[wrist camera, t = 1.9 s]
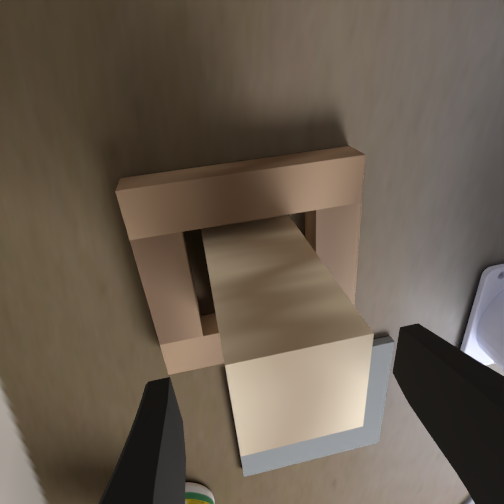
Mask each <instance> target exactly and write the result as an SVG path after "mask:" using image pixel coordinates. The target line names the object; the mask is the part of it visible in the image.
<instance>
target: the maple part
mask: <svg viewBox="0 0 504 504" xmlns="http://www.w3.org/2000/svg"><path fill="white" fill-rule="evenodd" d="M201 232H202V238H203V244H204V249H205V255H206V261H207V267H208V272H209V278H210V284H211V290H212V295H213V301H214V307H215V313H216V318H217V324H218V330H219V335H220V341H221V347H222V352H223V358H224V364H225V369H226V375H227V381H228V386H229V392H230V398H231V403H232V409H233V415H234V420H235V426H236V432H237V437H238V443H239V449H240V454H241V456H245V455H250V454H254V453H258V452H262V451H266V450H270V449H274V448H278V447H282V446H286V445H290V444H294V443H298V442H302V441H306V440H310V439H314V438H318V437H322V436H326V435H330V434H334V433H338V432H342V431H346V430H350V429H354V428H358V427H362V426H363V423H364V414H365V405H366V397H367V388H368V380H369V371H370V362H371V354H372V345H373V336H374V333H373V332H372V330H371V329H370V327H369V326H368V325H367V323H366V322H365V320H364V319H363V318H362V316H361V315H360V314H359V312H358V311H357V309H356V308H355V307H354V305H353V304H352V302H351V301H350V300H349V298H348V297H347V295H346V294H345V293H344V291H343V290H342V288H341V287H340V286H339V284H338V283H337V281H336V280H335V279H334V277H333V276H332V275H331V273H330V272H329V270H328V269H327V268H326V266H325V265H324V263H323V262H322V261H321V259H320V258H319V256H318V255H317V254H316V252H315V251H314V249H313V248H312V247H311V245H310V244H309V242H308V241H307V240H306V238H305V237H304V236H303V234H302V233H301V231H300V230H299V229H298V227H297V226H296V224H295V223H294V222H293V220H292V219H291V217H290V216H289V215H284V216H277V217H271V218H265V219H259V220H253V221H247V222H241V223H235V224H228V225H222V226H216V227H210V228H204V229H201Z"/></svg>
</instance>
